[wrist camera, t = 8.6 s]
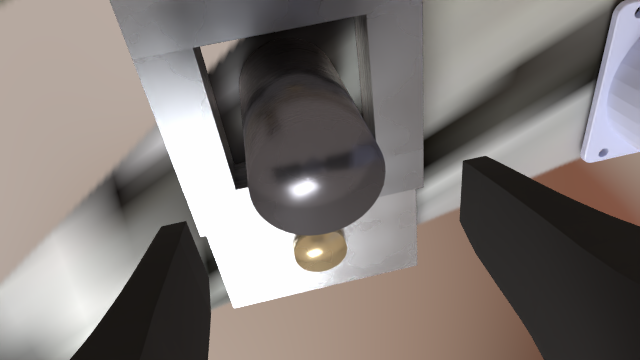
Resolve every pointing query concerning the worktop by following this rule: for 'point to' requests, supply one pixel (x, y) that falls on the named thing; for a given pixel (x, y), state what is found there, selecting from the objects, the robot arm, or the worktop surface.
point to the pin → (305, 141)
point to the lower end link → (315, 240)
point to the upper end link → (255, 19)
